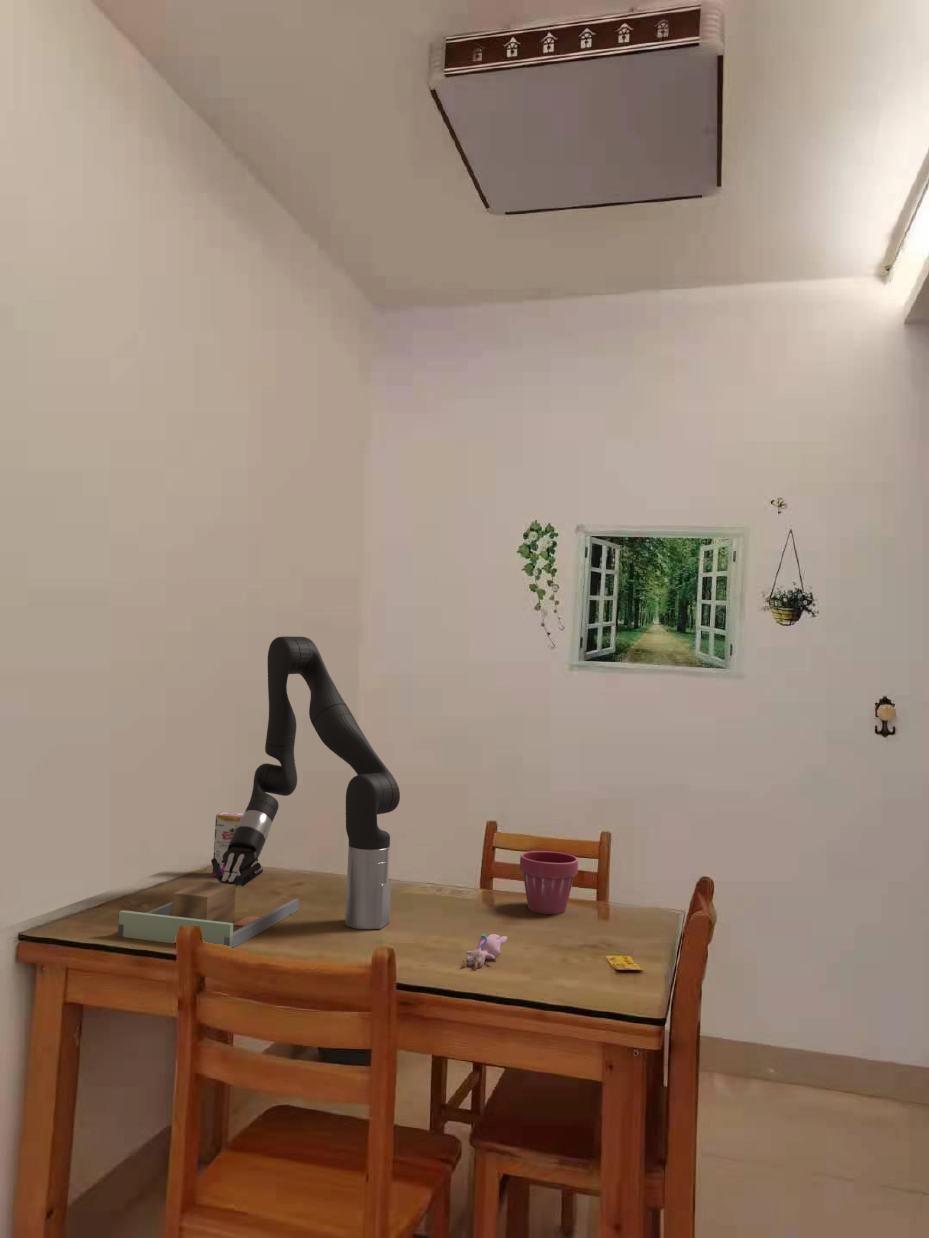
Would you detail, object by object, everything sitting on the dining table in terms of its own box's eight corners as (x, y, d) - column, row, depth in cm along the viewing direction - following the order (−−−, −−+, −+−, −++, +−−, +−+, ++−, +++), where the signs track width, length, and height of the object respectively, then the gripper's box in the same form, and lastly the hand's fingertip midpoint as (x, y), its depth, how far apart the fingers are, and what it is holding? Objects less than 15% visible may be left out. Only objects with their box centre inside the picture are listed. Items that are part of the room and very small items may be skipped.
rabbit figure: (484, 979, 179) (516, 947, 192) (483, 949, 179) (515, 919, 192) (455, 973, 182) (489, 942, 195) (454, 943, 182) (488, 914, 195)
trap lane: (298, 910, 218) (299, 888, 218) (229, 950, 186) (230, 924, 187) (201, 899, 224) (202, 878, 225) (117, 936, 193) (119, 911, 193)
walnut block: (233, 921, 207) (235, 884, 208) (205, 935, 196) (207, 896, 196) (201, 917, 209) (203, 881, 210) (171, 931, 198) (173, 893, 198)
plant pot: (586, 915, 223) (588, 861, 224) (532, 918, 219) (534, 863, 219) (560, 900, 237) (562, 849, 238) (509, 903, 232) (511, 851, 233)
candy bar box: (211, 877, 248) (214, 814, 249) (218, 873, 253) (221, 811, 254) (252, 879, 247) (255, 816, 248) (258, 875, 252) (261, 813, 252)
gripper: (220, 822, 220) (189, 886, 208) (271, 827, 217) (243, 892, 205) (230, 841, 225) (201, 905, 213) (281, 846, 222) (254, 911, 210)
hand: (222, 899), depth 209 cm, fingers closed
